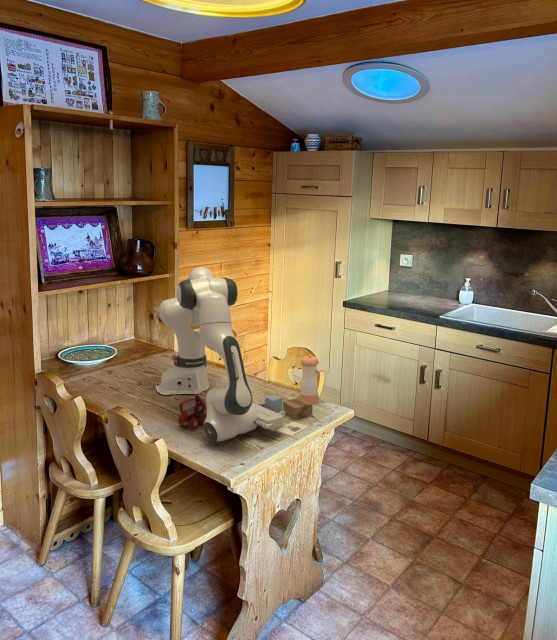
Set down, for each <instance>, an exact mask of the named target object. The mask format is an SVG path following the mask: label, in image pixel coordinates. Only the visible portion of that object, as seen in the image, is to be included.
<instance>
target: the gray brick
mask: <svg viewBox="0 0 557 640" xmlns="http://www.w3.org/2000/svg"><path fill="white" fill-rule="evenodd" d="M264 403H265V408H267V409H269V410H271V411H274V412H276V413H279V411H280V410H283V397H282V396H280V395H277V394H274V393H273V394H271V395H267V396H265V397H264Z"/></svg>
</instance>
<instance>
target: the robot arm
mask: <svg viewBox="0 0 557 640" xmlns="http://www.w3.org/2000/svg"><path fill="white" fill-rule="evenodd" d="M175 292H176V293H175V295H176V297H172V298H168V299H165V300H162V302H161V303H160V304H159V307H158V316H159V319H160V320H161V321H162V323H164V324H165V325H167V326H168V327H169V328H170V329H172V331H173V333H174V336H176V340H177V341H176V342H177V349H178V352H177V353H178V355H176V354H172V355H171V360H172V361H173V364H172V365H171V366H170V367H169V368H168V369H166V370H165V371H163V373H162V374H161V377H160V382H161V383H160V382H158V383H159V384H160V385H159V386H157V384H156V385H155V391H156V390H157V392H159V393H160V394H163V395H169V394H174V395H173V396H176V395H175V394H195V395H194V396H197V395H196V394H198V395H200V394H201V393H203V392H204V391H207V390H208V391H207V392H206V395H205V398H204V399H205V400H204V401H205V402H204V403H205V406H206V410H207V415H206V420H205V422H204V425H202V426H203V432H204V433H205V435H206V437H207V438H209V440H211V441H213V442H224V441H227V440H230V439H232V438H235V437H236V436H237V435H243V434H247V433H248V432H252V431H253V430H255V429H256V428H257V427H260V428H262V429H264V430H273V429H276V428H279V427H280V428H281V427H283V425H284V416H286V415H285V411H283V409H282V410H280V411H279V413H276V412H274V411H271V410H269V409H267V408H265V402H259V403H257V402H256V403H255V402H253V393H252V390H251V387H250V386H249V383H248V379H247V376H246V370H245V365H244V360H243V356H242V355H243V354H242V352H241V347H240V344H239V342H238V340H237V338H236V337H235V334H234V332H233V331H234V330H233V326H232V317H231V311H230V307H232V306H233V305H235V304H236V302H237V299H238V296H239V290H238V286H237V283H236V282H235V280H233V279H232V278H228V277H215V275H214V273H213V272H212V270H210V269H209V268H207V267H204V266H200V267H199V266H198V267H196V268H194V269H192V271H191V272H190V273H189V275H188V276H187V278H186V279H183V280H181V281H180V282H179V283H178V285H177V289H176V291H175ZM192 324H199V325H198V326H199V331H197V330H194V329H192V328H191V325H192ZM206 348H207V349H208V350H210V351H213V352H215V353H216V354H218V355H219V356H221V358H222V360H223V362H224V367H225V373H226V378H227V385H221V386H214V387H211V385H210V382H209V379H208V374H207V366H208V365H207V362H208V361H207V360H208V359H207V358H208V357H207V354H206ZM210 387H211V388H210ZM157 392H156V393H157Z"/></svg>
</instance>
